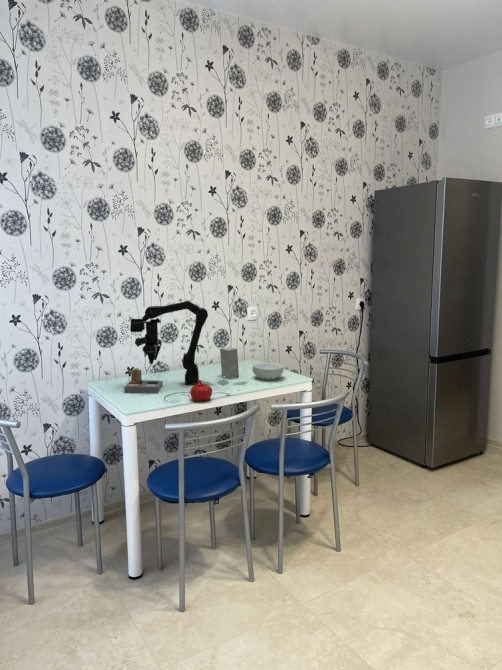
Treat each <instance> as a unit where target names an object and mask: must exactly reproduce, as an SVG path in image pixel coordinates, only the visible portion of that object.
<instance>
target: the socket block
mask: <svg viewBox="0 0 502 670" xmlns="http://www.w3.org/2000/svg"><path fill="white" fill-rule="evenodd" d="M163 383H164V382H163V380H148V379H147V380H146V379H144V380H142V383H141V384H132V382H131V380H129V381H128V382H127V383H126V384H125V385H124V386H123V388H124V394H125V393H126V394H158V393H159V392H160V391H161V390H162V388H163V386H164V385H163Z"/></svg>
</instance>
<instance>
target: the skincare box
mask: <svg viewBox="0 0 502 670" xmlns="http://www.w3.org/2000/svg"><path fill="white" fill-rule="evenodd" d="M219 352H220V365H221V366H220V367H221V368H220V369H221V371H220V373H221V376H222V377H224V376H225V377H224V378H227V379H233V378H239V376H240V374H239V373H240V372H239V371H240V370H239V354H238V348H235V347H231V346H226V347H220V349H219Z"/></svg>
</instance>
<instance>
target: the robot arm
mask: <svg viewBox="0 0 502 670" xmlns="http://www.w3.org/2000/svg"><path fill="white" fill-rule="evenodd" d="M183 310H188V311H189V312H191V313H192V314H194V315H195V323H194V327H193V332H192V335H191V339H190V343H189V347H188V349H187V351H186V352H183V356H182V359H181V363H182V367H183V369H184V370H186V371H185V374H184V383H185V385H192V386H194V385H196V384H194V383H198V384H200V382H199V380H200V374H199V373H200V371H199V366H198V365H197V363H195V361H196V360H195V358H196V352H197V346H198V345H199V340H200V337H201V333H202V330H203V326H204V325H205V324H206V321H207V319H208V316H209V313H208V310H207V309H206V308H205V307H199V306H198V305H197V304H195V303H193V302H191V300H185V301H179V302H176V303H171V304H166V305H151V306H150V305H149V306H148V307H146V308H145V311H144V315H143V316H142V317H141V318H130V333H144V331H145V332H146V333H145V334H144V336H142V337H138V338H135V340H134V344H135V345H136V347H140V346H142V345H144V346H143V347H142V352H143V353H144V354H146V355H147V358H148V361H149V364H150V365H153V364H154V361H157V358H158V356H159V353H160V351H161V347H162V344H163V341H162V340H161V338H159V335H160V333H159V330H158V324H159V323H162V320H161V319H159V317H160V316H162V315H165V314H169V313H174V312H178V311H183Z"/></svg>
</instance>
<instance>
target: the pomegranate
mask: <svg viewBox="0 0 502 670" xmlns="http://www.w3.org/2000/svg"><path fill="white" fill-rule="evenodd" d="M194 384H196V385H192V387H191V389H190V392H189V393H190V397H191V399H192V400H193V401H194V402H207V401H209V400H210V399H211V397H212V395H213V389H212V387H211V386H210V385H209V384H208V383H205V382H204V383H202V380H200V379H199V384H198V383H194Z"/></svg>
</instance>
